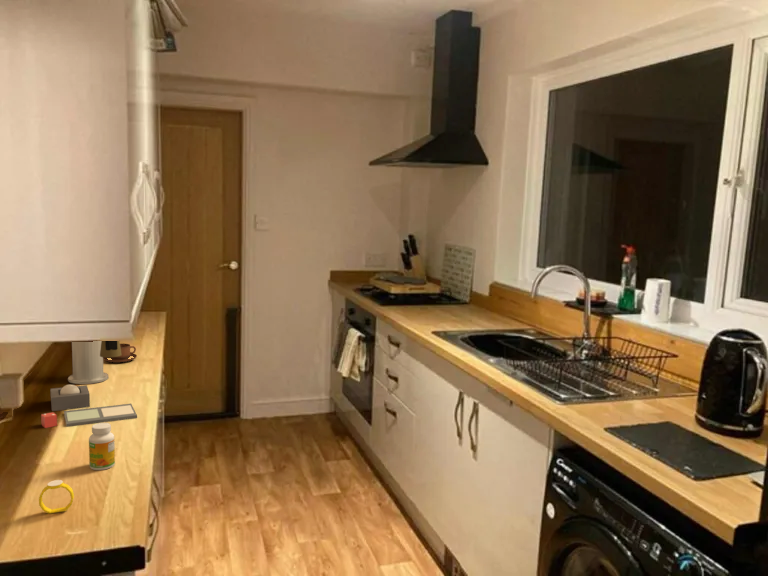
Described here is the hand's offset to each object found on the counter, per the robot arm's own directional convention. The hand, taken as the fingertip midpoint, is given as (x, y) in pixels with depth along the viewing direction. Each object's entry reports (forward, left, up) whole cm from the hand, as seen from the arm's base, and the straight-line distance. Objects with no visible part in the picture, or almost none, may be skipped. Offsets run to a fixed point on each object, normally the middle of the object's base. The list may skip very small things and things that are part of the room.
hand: (110, 347), depth 191 cm
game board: (+11, -4, -17) cm, 21 cm away
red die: (+14, -17, -17) cm, 28 cm away
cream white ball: (-4, -11, -17) cm, 21 cm away
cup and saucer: (-56, +9, -18) cm, 59 cm away
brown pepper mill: (0, 0, -2) cm, 2 cm away
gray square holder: (-4, -11, -17) cm, 21 cm away
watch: (+69, -17, -17) cm, 73 cm away
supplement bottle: (+49, -7, -17) cm, 52 cm away
